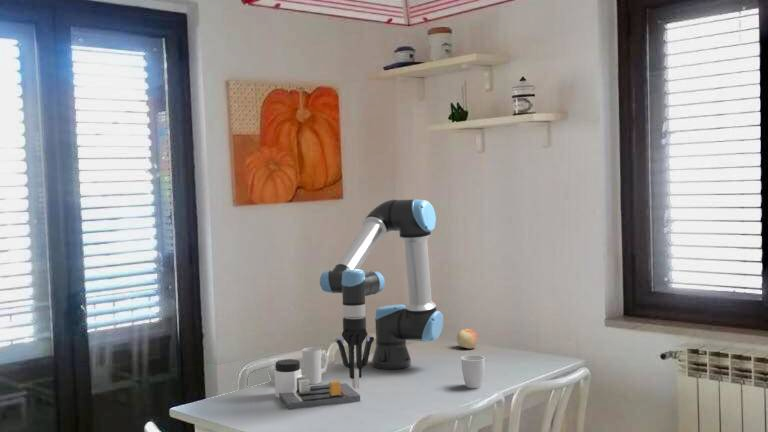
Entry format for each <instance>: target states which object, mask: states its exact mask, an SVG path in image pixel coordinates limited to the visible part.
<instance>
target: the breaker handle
mask: <svg viewBox="0 0 768 432" xmlns="http://www.w3.org/2000/svg"><path fill="white" fill-rule="evenodd" d="M328 383H329V394H330V395H331V396H335V395H341V388H340V384H341V382H340V381H339V380H331V381H328Z"/></svg>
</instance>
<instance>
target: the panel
mask: <svg viewBox="0 0 768 432" xmlns="http://www.w3.org/2000/svg"><path fill="white" fill-rule="evenodd" d="M340 388H341V395H335V396H331V395H330V394H329V384H322V385H321V384H320V385H319V384H317V385H311V384H310V381H309V380H308V379H306V376H305V375H303V374H301V376H300V377H298V378H297V391H296V392H292V393H280V392H279V398H278V399H279V400H280V401H281V402H282V404H283V405H284V406H285V408H286V409H287V411H288V410H297V409H305V408H315V407H321V406H332V405H339V404H340V405H341V404H348V403H349V404H351V403H358V402H361V395H360V393H359V392H357V391H356V389H354V388H353V387H352V386H350V385H349V384H348V383H340Z"/></svg>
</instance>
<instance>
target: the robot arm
mask: <svg viewBox="0 0 768 432" xmlns="http://www.w3.org/2000/svg"><path fill="white" fill-rule="evenodd" d="M436 218H437V217H436V211H435V209H434V206H433V205H432V204H431V202H429V201H428V200H425V199H418V198H417V199H415V198H414V199H390V200H389V199H388V200H387V201H384V202H382V203H381V204H379V205H377V206H376V207H375V208H373V209H372V210H371V211H370V212H369V213H368V215H367V216H365V218H364V220H363V222H362V228H361V229H360V231H359V232H358V233H357V234H356V236H355V238H354V239H353V240H352V241H351V243H350V245H349V246H348V247H347V249H346V250H345V252H344V253H343V255H342V256H341V258H340V259H339V260H338V262H337V263H336V265H335V266H334V267H333V269H332V270H330V269H329V270H324V271H323V272H321V274H320V277H319V286H320V288H321V291H323V292H325V293H332V294H342V297H341V298H342V316H343V318H342V333H341V336H340V337H339V338H336V339H335V343H336V345H337V346H338V348H339V352H340V356H341V360H342V364H343V367H345V368H346V369H349V370H348V371H349V378H350V379H351V380H352V389H353V390H359V389H360V379H361V378H362V376H363V372H362V369H363V368H364V367H366V366H368V362H369V358H370V352H371V347H372V344H373V342H374V340H375V348H374V352H373V356H372V357H371V366H372V367H373V368H376V369H382V370H383V369H384V370H397V369H403V368H408V367H410V366H412V360H411V359H412V358H411V355H410V352H409V350H408V347H407V341H417V342H418V341H419V342H424V343H426V342H430V343H431V342H434V341H436V340H438V338H439V337H440V336H441V333H442V330H443V327H444V326H443V325H444V315H443V313H442V311H440V310H437V304H436V303H435V302H434V301H432V299H433V298H432V289H431V287H432V286H431V273H430V259H429V248H428V239H429V238H430V237H431V233H432V231H434V229H435V227H436V222H437V219H436ZM393 231H395V232H397V231H398V232H399V237H400V239H401V240H403V243H404V245H403V246H404V253H405V254H404V255H405V256H404V257H405V267H406V268H405V269H406V279H407V280H406V281H407V292H408V294H407V296H408V303H407V304H406V305H405V304H391V305H384V306H380V307H378V308H377V309H376V310H375V317H374V322H375V338H374V337H373V336H372V335H370V334H368V330H367V322H366V321H367V320H366V319H367V318H366V312H367V311H366V297H367V296H371V295H376V294H378V293H380V292H382V291H383V290H384V289H385V284H386V282H385V276H383V274H382V273H380V272H379V271H375V270H374V271H369V272H367V271H366V272H365V271H364V270H363V269H361V267H362V265H363V264H364V262H365V261H366V259H367V258H368V256H369V255H370V253H371V252H372V250H373V249H374V247H375V246H376V245H377V243H378V242H379V240H380V239H381V238H384V237H385V236H386V234H387V233H389V232H393ZM364 341H365V343H364ZM344 343H346V344H347V348H348V356H347V352H346V350H345V346H344ZM363 343H364V344H365V345H364V349H363V350H362V348H363ZM362 351H363V352H362ZM362 353H363V354H362ZM355 359H356V360H355ZM355 362H356V363H355ZM355 364H356V367H355Z"/></svg>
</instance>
